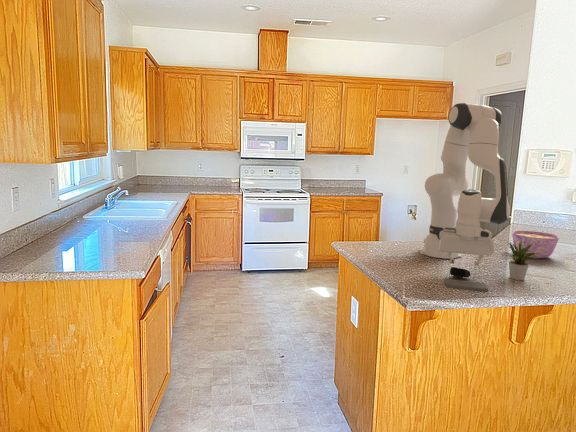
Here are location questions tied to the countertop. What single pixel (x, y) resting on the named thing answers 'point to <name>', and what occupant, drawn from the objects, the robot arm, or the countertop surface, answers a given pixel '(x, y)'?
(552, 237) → the bowl of food
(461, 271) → the tape measure
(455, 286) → the gray rectangular block
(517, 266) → the house plant
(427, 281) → the countertop surface
